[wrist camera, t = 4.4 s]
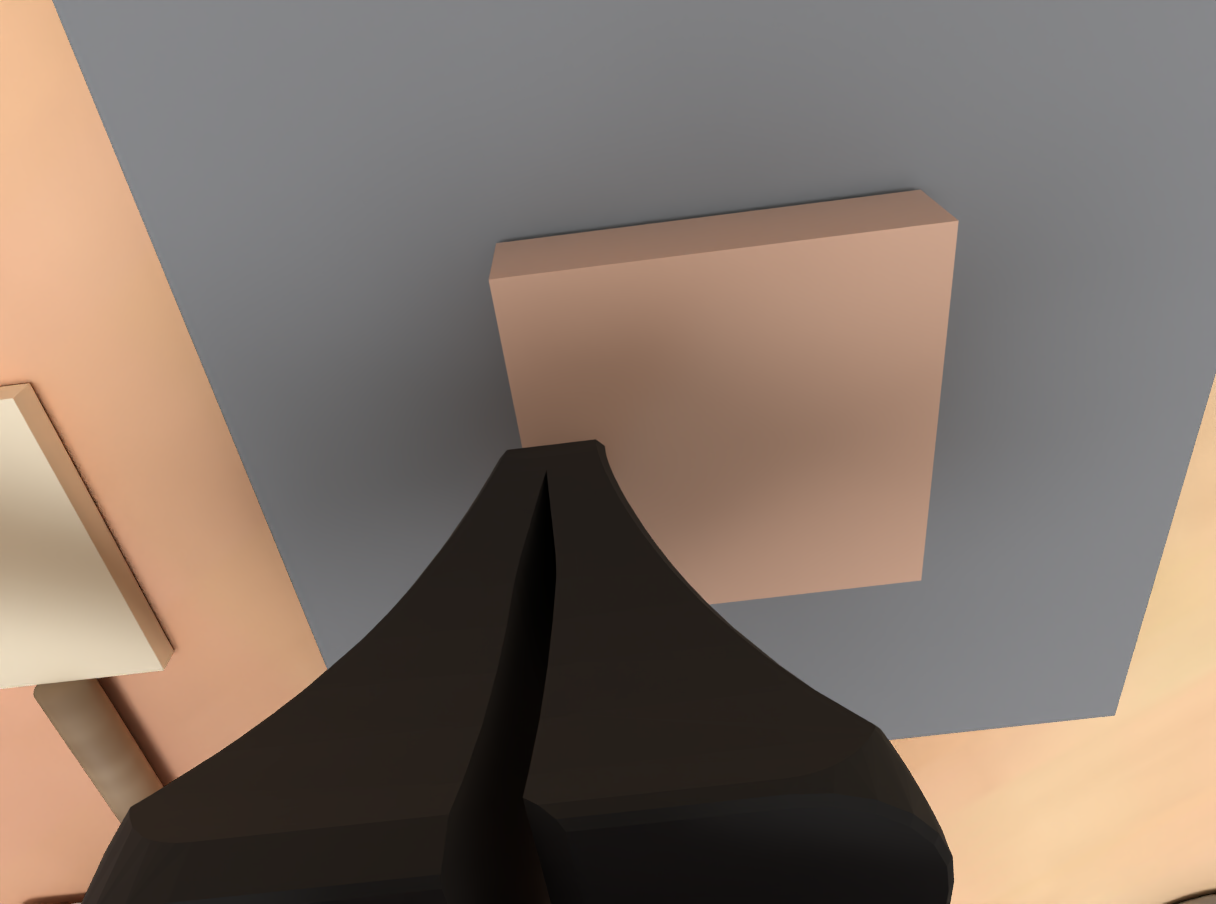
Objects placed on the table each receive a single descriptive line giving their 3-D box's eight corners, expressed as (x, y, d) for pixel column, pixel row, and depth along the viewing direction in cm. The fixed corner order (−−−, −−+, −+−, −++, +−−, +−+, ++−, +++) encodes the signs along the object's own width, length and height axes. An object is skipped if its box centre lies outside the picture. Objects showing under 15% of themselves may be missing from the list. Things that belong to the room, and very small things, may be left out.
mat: (1104, 700, 19) (1114, 715, 19) (382, 780, 19) (379, 795, 19) (1428, -449, 9) (1462, -462, 9) (-27, -238, 10) (-48, -243, 9)
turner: (285, 859, 21) (273, 899, 20) (122, 876, 21) (104, 917, 20) (29, 383, 14) (-6, 414, 13) (-213, 412, 14) (-263, 446, 13)
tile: (558, 559, 16) (890, 521, 16) (557, 621, 14) (921, 580, 14) (497, 238, 12) (915, 186, 12) (488, 279, 11) (958, 220, 11)
